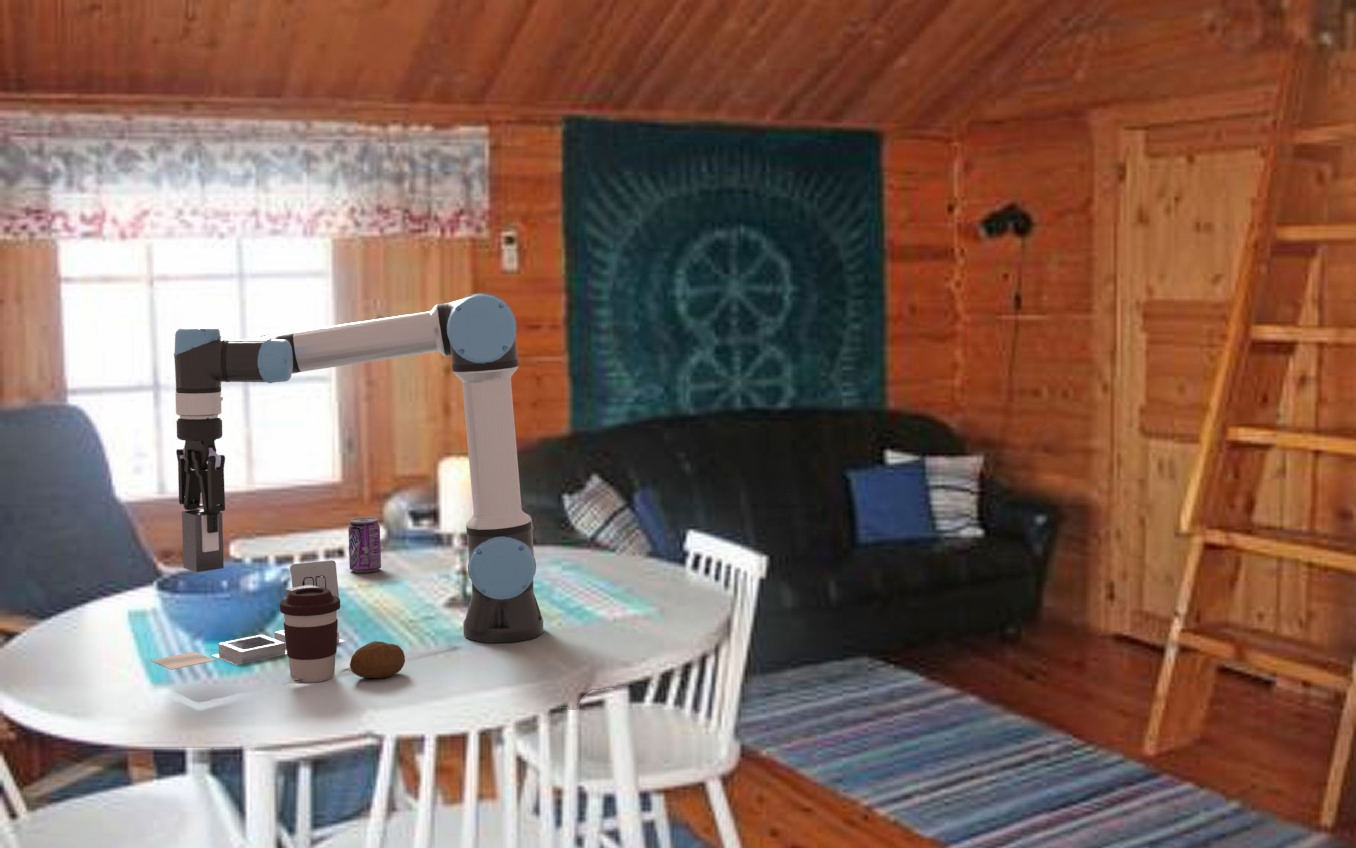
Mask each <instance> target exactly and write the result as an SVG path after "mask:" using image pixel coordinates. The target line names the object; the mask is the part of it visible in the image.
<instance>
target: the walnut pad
mask: <svg viewBox="0 0 1356 848" xmlns="http://www.w3.org/2000/svg"><path fill="white" fill-rule="evenodd" d="M215 661H216V660H215V659H213V658H211V657H210V656H209V657H208V656H206V655H203V654H201V653H199V652H196V651H191V652H186V653H182V654H177V655H173V656H172V655H171V656H166V657H163V658H158V659H157V658H156V659H153V660H151V662H152V663H155V664H157V665H160V666H162V667H165V668H167V669H169V670H177V669H182V668H186V667H190V666H196V665H200V664H205V663H210V662H215Z"/></svg>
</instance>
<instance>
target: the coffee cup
mask: <svg viewBox="0 0 1356 848" xmlns="http://www.w3.org/2000/svg"><path fill="white" fill-rule="evenodd" d="M340 608H341V599H340V597H339V598H338V597H336V596H333V595H332V593H331V591H330V590H329V589H327V588H320V587H311V588H301V589H296V590H293V591H291V592H290V593H289V595H288V597H287V598H286V597H285V599H282V600H281V601H280V602H279V611H280V613H281V614H283V619H284V622H283V630H284V632H285V641H286V650H287V654H286V656H287V657H288V663H289V664H288V665H289V674H290V676H292V677H293V678H297V679H294V680H293V681H294V682H297V683H302V684H311V683H313V684H314V683H322V682H325V681H328V680H330V679H333V677H334V676H335V674H336V673H335V671H336V669H335V668H336V653H337V649H338V643H337V631H338V625H339V623H338V622H339V621H338V617H337V614H338V613H337V612H338V611H339V609H340Z"/></svg>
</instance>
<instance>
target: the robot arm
mask: <svg viewBox="0 0 1356 848" xmlns="http://www.w3.org/2000/svg"><path fill="white" fill-rule="evenodd" d="M517 329H518V328H517V322H516V317H515V315H514V312H513V310H512V309H511V307H510V306H509V305H508V303H506V301H504V300H503V298H500V297H499V296H497V295H495V294H492V293H487V292H478V293H473V294H468V295H467V296H465V297H464V298H463V297H462V298H460V299H456V300H454V301H451V302H445V303H440V304H435V305H434V306H433V308H432V309H431V310H430V311H428V310H427V311H423V312H416V313H410V314H409V313H408V314H402V315H397V316H389V317H383V318H376V319H369V320H362V321H355V322H350V323H349V322H348V323H342V324H337V325H335V324H334V325H329V326H323V327H316V328H310V329H302V330H296V331H291V332H284V333H283V332H282V333H275V334H274V333H272V334H265V335H260V336H258V337H257V338H243V339H242V338H240V339H239V338H237V339H233V338H232V339H230V338H222V336H221V331H220V329H219V328H218V327H205V326H204V327H203V326H200V327H199V326H195V327H194V326H193V327H191V326H190V327H181V328H178V329H176V332H175V334H174V353H173V356H174V374H175V376H174V377H175V394H174V395H175V396H174V397H175V414H176V415H177V416H179V417H178V418H177V419H176V438H177V439H179V440H181V441H185V442H184V446H183V447H184V448H177V449H176V450H175V451H176V453H175V454H176V458H177V459H176V460H177V472H178V473H177V474H178V475H177V477H178V478H177V479H178V480H177V481H178V482H177V483H178V503H179V505H180V506H181V505H183V509H184V510H185V511H191V510H200V509H204V511H203V512H200V515H201V524H202V552H209V551H216V550H219V538H218V513H220V512H224V511H225V510H226V500H225V499H226V497H225V495H226V494H225V463H226V457H225V456H226V455H224V454H218V453H217V448H216V443H215V441H216V440H219V439H221V438H223V418H221V416H219V415H221V414H222V402H223V400H224V398H223V396H222V383H267V384H274V383H282V382H283V383H285V382H288V381H290V379H291V378H292V375H293V374H297V373H303V372H311V371H317V370H324V369H330V368H335V367H338V368H339V367H344V366H348V365H349V366H351V365H357V364H364V363H370V362H376V361H378V362H379V361H383V360H391V359H396V358H404V357H409V356H418V355H423V354H424V355H425V354H430V353H431V354H432V353H436V352H437V353H440V355H442V356H444V357H447V356H450V357H451V369H452V374H454V376H455V377H457V378H458V379H459V380H460V381H461V383H462V397H463V406H464V418H465V429H466V442H467V452H468V453H467V454H468V463H469V465H468V466H469V476H470V477H469V478H470V487H471V498H472V499H471V501H472V510H473V514H472V516H471V517H470V519H469V520H468V521H467V522H466V524H465V528H466V538H467V539H466V541H467V552H468V564H467V573H468V577H469V579H470V581H471V595H470V596H471V597H470V600H469V604H468V607H467V612H466V615H465V619H464V621H463V635H464V637H465V638H466V639H469V640H472V641H475V642H476V641H477V642H485V643H513V642H514V643H515V642H520V641H526V640H530V639H534V638H537V637H539V636H541V635H543V633H544V618H543V615H542V614H541V610H540V607H539V604H538V601H537V599H536V596H535V592H534V589H535V588H534V578H535V575H536V572H537V562H536V558H535V553H534V540H533V531H534V525H533V519H532V516H531V515H530V514H527V513H526V512H525V511H523V510H522V498H521V487H520V486H521V485H520V474H519V473H520V472H519V465H518V464H519V459H518V449H517V438H516V424H515V415H514V411H515V410H514V401H513V389H512V376H513V375H514V374H515V373H516V371H517V370H519V358H518V357H519V356H518V345H517ZM201 501H202V502H201Z"/></svg>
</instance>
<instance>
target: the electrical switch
mask: <svg viewBox="0 0 1356 848" xmlns="http://www.w3.org/2000/svg"><path fill="white" fill-rule="evenodd" d="M289 572H290V573H289V574H290V575H291V577H290V578H291V588H294V587H300V586H305V585H313V586H316V587H320V588H327V589H329V590H330V591H331V593H332V595H333V596H336V597H338V598H340V593H339V583H338V574H337V573H338V572H337V564H336V561H335V560H332V559H331V560H323V561H322V560H321V561H311V562H300V563H292V564H291V565H290V566H289Z"/></svg>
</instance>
